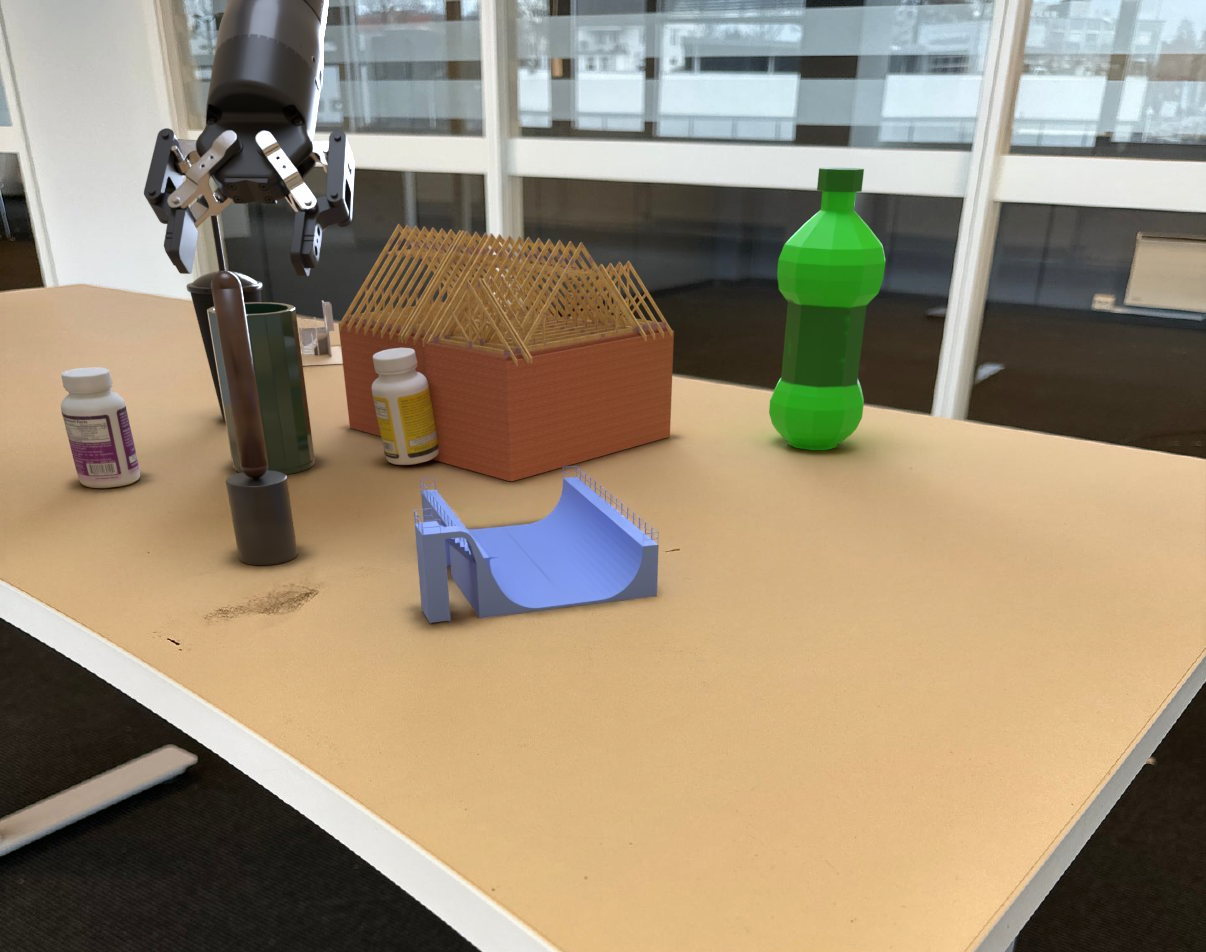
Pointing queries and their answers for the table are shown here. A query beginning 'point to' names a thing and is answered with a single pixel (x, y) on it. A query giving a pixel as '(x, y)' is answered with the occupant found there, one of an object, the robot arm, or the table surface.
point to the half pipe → (535, 557)
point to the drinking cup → (204, 301)
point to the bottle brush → (250, 442)
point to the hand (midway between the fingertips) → (239, 267)
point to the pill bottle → (98, 429)
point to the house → (514, 353)
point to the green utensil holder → (273, 386)
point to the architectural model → (319, 341)
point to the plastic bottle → (826, 316)
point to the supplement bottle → (403, 408)
